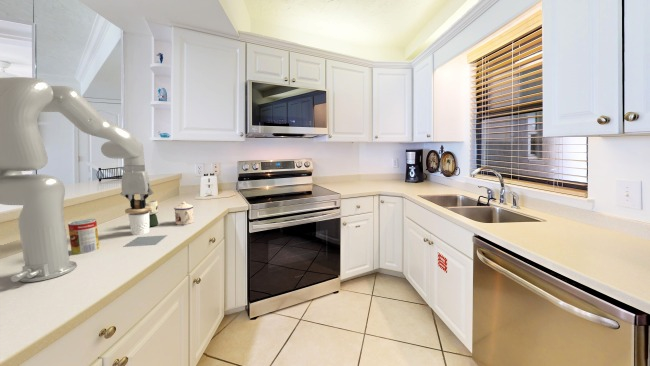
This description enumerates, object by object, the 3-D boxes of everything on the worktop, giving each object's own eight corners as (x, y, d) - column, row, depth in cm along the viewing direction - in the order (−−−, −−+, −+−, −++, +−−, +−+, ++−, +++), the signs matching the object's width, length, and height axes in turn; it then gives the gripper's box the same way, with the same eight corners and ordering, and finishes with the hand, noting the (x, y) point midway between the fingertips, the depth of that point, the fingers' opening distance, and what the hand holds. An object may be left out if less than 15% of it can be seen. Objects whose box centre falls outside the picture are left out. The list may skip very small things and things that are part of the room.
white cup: (154, 231, 123) (153, 211, 122) (141, 236, 116) (139, 215, 114) (140, 230, 124) (138, 211, 123) (125, 236, 116) (123, 215, 115)
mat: (155, 246, 104) (155, 244, 104) (122, 248, 102) (122, 246, 102) (167, 236, 116) (167, 235, 116) (138, 238, 113) (137, 237, 113)
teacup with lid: (172, 222, 138) (171, 201, 137) (190, 219, 145) (189, 199, 143) (180, 227, 130) (178, 205, 129) (198, 223, 137) (197, 202, 135)
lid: (145, 212, 115) (144, 201, 114) (120, 214, 112) (119, 202, 112) (155, 208, 124) (154, 197, 124) (132, 209, 122) (131, 198, 122)
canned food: (91, 246, 103) (88, 218, 102) (104, 249, 101) (101, 219, 99) (67, 253, 96) (63, 223, 95) (79, 256, 93) (75, 225, 92)
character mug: (161, 226, 131) (159, 202, 129) (144, 229, 126) (142, 204, 124) (157, 222, 139) (155, 199, 137) (141, 225, 134) (139, 201, 132)
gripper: (109, 170, 111) (113, 211, 113) (151, 169, 114) (154, 209, 116) (119, 168, 118) (123, 207, 120) (158, 168, 121) (161, 206, 124)
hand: (138, 208), depth 118 cm, fingers closed on lid, 3 cm apart
